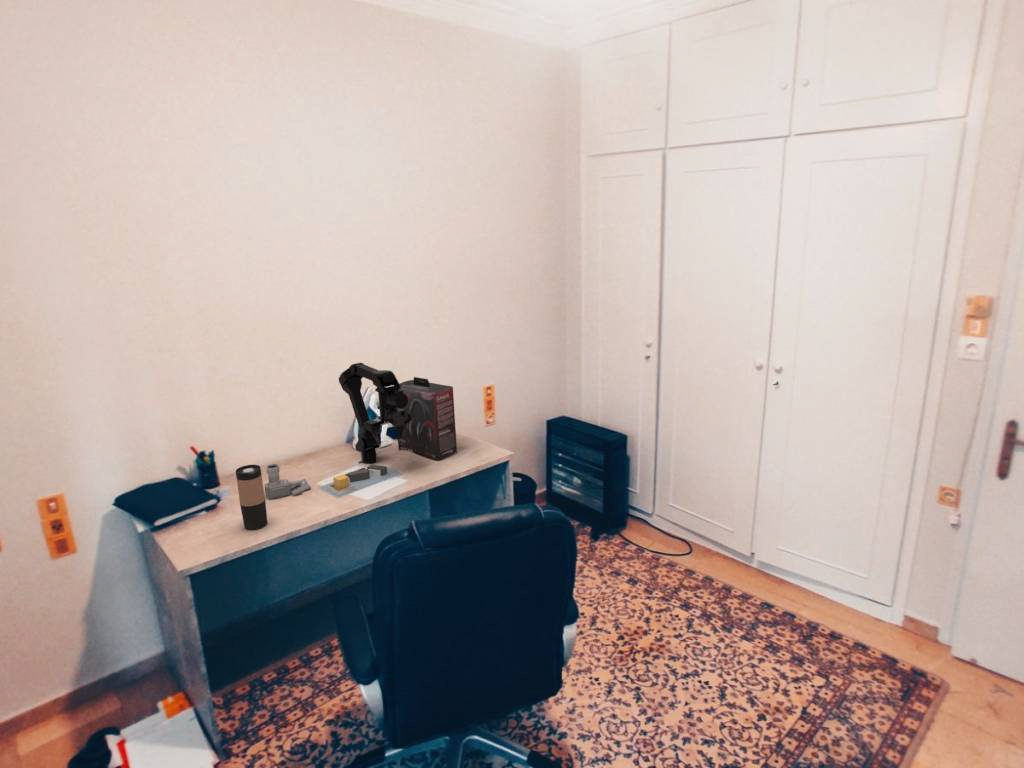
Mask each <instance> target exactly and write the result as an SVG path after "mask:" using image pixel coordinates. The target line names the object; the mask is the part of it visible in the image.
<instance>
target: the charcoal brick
mask: <svg viewBox="0 0 1024 768" xmlns="http://www.w3.org/2000/svg"><path fill="white" fill-rule="evenodd" d="M353 471H354V472H352V471H350V472H348V473H349V478H350V483H351V482H356V481H362V480H367V479H369V473H368V470H367V468H366V469H365V470H360V471H355V470H353Z"/></svg>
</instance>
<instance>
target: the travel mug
mask: <svg viewBox="0 0 1024 768" xmlns="http://www.w3.org/2000/svg"><path fill="white" fill-rule="evenodd" d="M235 475H236V482H237V483H236V484H237V485H236V486H237V492H238V498H239V500H238V501H239V505H240V510H241V516H242V522H243V527H244V529H245V530H247V531H256V530H257V531H258V530H260V529H263V528H265V527H266V526H267V525H268V514H267V505H266V494H265V487H264V482H263V475H262V469H261V465H258V464H247V465H242V466H240V467H238V468H236V470H235Z"/></svg>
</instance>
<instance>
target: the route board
mask: <svg viewBox="0 0 1024 768" xmlns="http://www.w3.org/2000/svg"><path fill="white" fill-rule="evenodd" d="M366 469H368V470H370V471H371V477H369V479H367V480H362V481H356V482H351V483H350V486H352V485H355V487H356V490H354V491H352V492H349V493H346V494H344V495H341V496H336V495H335V494H333V493H331V492H329V491H327V490H326V486H327V485H330V484H333V483H334V481H332V482H329V483H327V484H324V485H321V486H317V489H319V490H321V491H323V492H325V493H327V494H329V495H331V496H332V497H334V498H336V499H339V498H341V497H344V496H347V495H350V494H353V493H355V492H358V491H361V490H363V489H366V488H369V487H371V486H374V485H377V484H379V483H383V482H385V481H387V480H390V479H393V478H396V477H398V476H400V475H404V473H402V472H400V471H398V470H396V469H393V468H391V467H389V466H386V465H384V464H381V465H376V464H370V465H368V466H367V468H366Z"/></svg>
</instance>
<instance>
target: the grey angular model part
mask: <svg viewBox="0 0 1024 768" xmlns="http://www.w3.org/2000/svg"><path fill="white" fill-rule="evenodd" d="M265 470H266V474H267V477H268V482H267V483H263V487H264V495H265V498H266V500H270V499H271V500H273V499H278V498H282V497H287V496H290V495H291V496H293V497H295V496H296V495H298V494H301V493H303V492H305V491H307V490H309V489H311V488H312V487H311V486H310V484H309V482H308V481H307V480H306V479H305V478H304V479H301V480H299V479H298V480H297V479H296V480H293V481H292V480H288V479H286V478H284V479H280V472H281V471H280V465H279V464H278V463H271V464H268V465H266V469H265Z"/></svg>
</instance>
